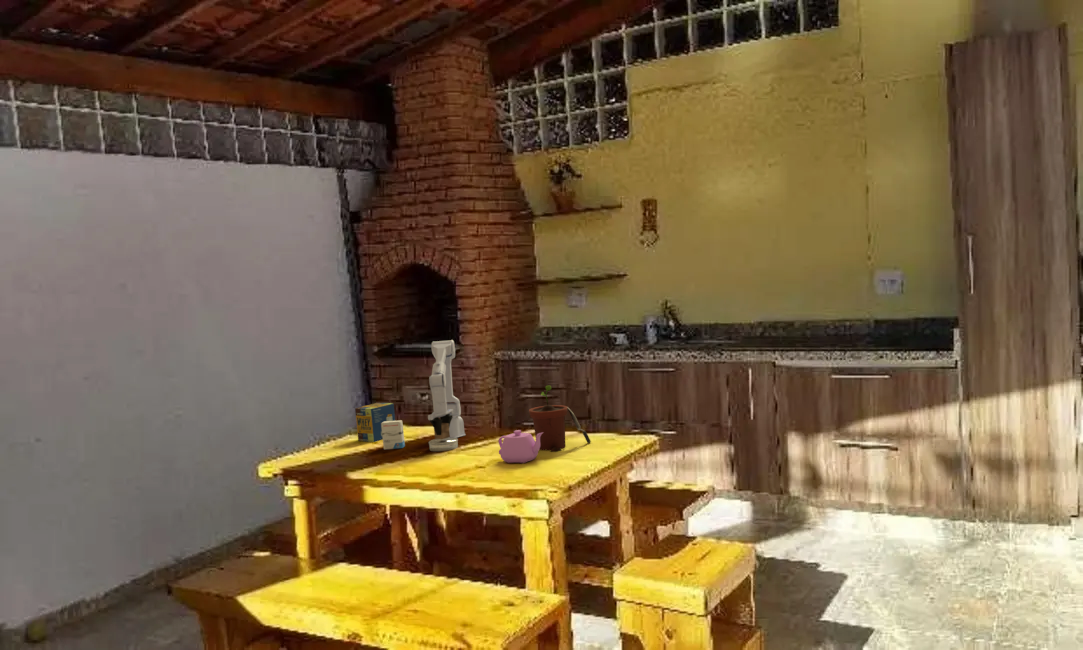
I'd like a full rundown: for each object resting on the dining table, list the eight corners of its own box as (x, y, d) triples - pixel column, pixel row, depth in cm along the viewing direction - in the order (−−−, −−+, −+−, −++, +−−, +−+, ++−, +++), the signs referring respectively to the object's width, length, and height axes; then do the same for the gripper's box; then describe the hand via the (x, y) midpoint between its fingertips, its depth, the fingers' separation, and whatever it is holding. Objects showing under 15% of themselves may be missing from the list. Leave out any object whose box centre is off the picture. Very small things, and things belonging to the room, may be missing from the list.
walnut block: (441, 436, 380) (440, 422, 380) (449, 436, 378) (448, 423, 377) (435, 438, 376) (433, 424, 376) (443, 439, 374) (441, 425, 373)
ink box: (405, 446, 389) (402, 419, 388) (402, 448, 384) (399, 421, 383) (386, 447, 390) (383, 420, 389) (383, 449, 385) (380, 422, 384)
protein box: (357, 441, 410) (354, 408, 409) (381, 434, 423) (378, 402, 422) (373, 442, 404) (370, 408, 403) (397, 435, 417) (394, 402, 416)
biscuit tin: (443, 444, 386) (442, 436, 386) (464, 446, 378) (463, 438, 378) (423, 450, 376) (422, 442, 376) (444, 452, 368) (443, 444, 368)
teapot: (491, 464, 338) (488, 434, 337) (507, 456, 350) (505, 427, 349) (538, 465, 329) (536, 434, 329) (553, 457, 341) (550, 427, 341)
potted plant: (544, 441, 372) (539, 383, 371) (591, 442, 362) (586, 382, 361) (524, 451, 357) (519, 390, 355) (573, 452, 347) (568, 389, 345)
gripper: (443, 399, 384) (445, 429, 385) (421, 405, 372) (424, 436, 373) (455, 399, 380) (458, 430, 381) (434, 405, 368) (437, 437, 369)
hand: (442, 433), depth 377 cm, fingers closed on walnut block, 4 cm apart
